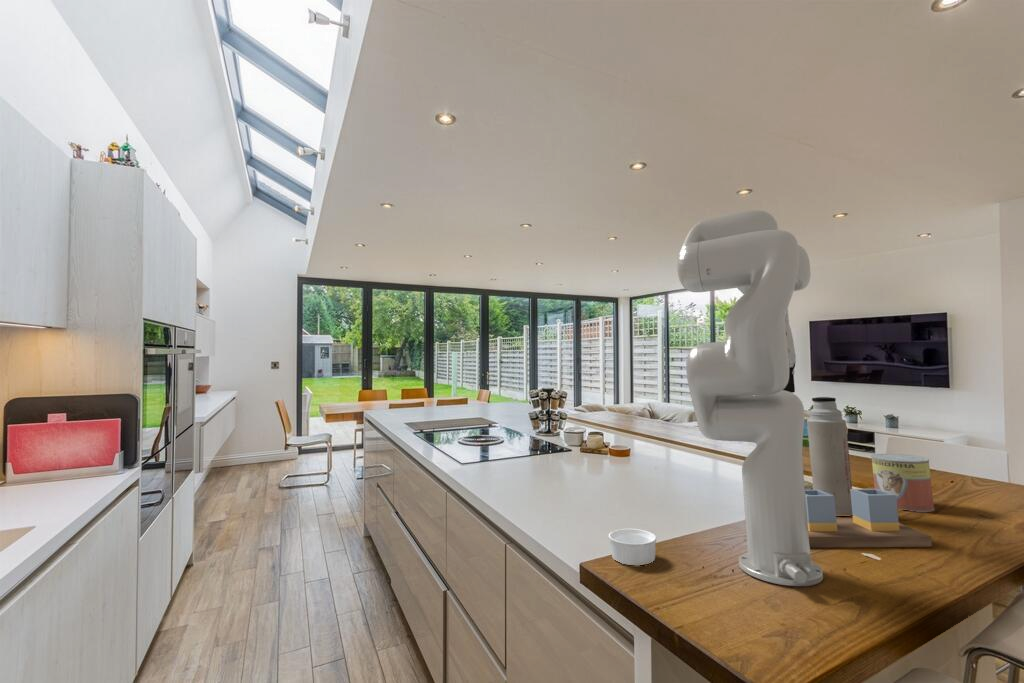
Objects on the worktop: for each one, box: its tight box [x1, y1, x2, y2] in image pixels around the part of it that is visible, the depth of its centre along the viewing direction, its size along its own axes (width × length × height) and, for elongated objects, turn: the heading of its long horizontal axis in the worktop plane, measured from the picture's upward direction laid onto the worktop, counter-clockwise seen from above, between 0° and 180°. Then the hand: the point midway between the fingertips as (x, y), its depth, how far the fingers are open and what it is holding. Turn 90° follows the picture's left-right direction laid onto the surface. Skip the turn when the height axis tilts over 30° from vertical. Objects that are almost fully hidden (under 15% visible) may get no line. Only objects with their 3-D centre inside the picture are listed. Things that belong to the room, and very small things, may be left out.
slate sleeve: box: [850, 488, 900, 531], centre depth 94 cm, size 5×5×7 cm
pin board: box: [808, 517, 933, 548], centre depth 94 cm, size 12×24×6 cm, turn 86°
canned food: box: [870, 453, 936, 513], centre depth 114 cm, size 11×11×12 cm
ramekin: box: [608, 528, 657, 566], centre depth 86 cm, size 9×9×4 cm
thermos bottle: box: [806, 396, 853, 515], centre depth 111 cm, size 8×8×28 cm
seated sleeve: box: [805, 489, 837, 531], centre depth 95 cm, size 5×5×7 cm
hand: (776, 392), depth 105 cm, fingers open, 9 cm apart
